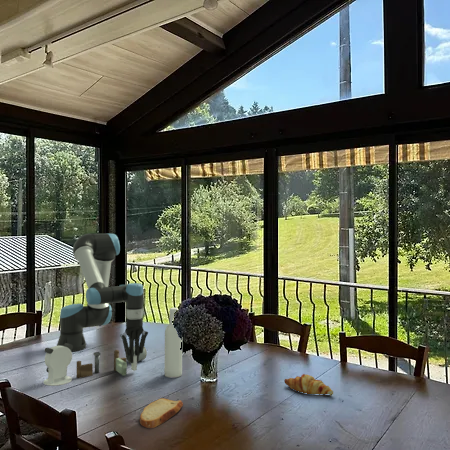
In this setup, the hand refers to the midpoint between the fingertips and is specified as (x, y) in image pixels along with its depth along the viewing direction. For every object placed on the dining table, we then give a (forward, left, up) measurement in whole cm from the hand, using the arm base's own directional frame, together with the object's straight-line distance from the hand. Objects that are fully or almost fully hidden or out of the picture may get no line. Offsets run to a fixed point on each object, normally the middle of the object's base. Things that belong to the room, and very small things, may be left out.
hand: (134, 369), depth 202 cm
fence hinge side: (-8, -4, -2) cm, 9 cm away
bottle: (+12, +14, -2) cm, 18 cm away
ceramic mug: (-17, +7, -2) cm, 19 cm away
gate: (-2, -5, -1) cm, 6 cm away
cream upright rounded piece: (-9, -31, -2) cm, 32 cm away
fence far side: (-8, -19, -2) cm, 21 cm away
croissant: (+60, +50, -2) cm, 78 cm away
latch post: (-10, -14, -2) cm, 17 cm away
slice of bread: (+47, -9, -2) cm, 47 cm away
